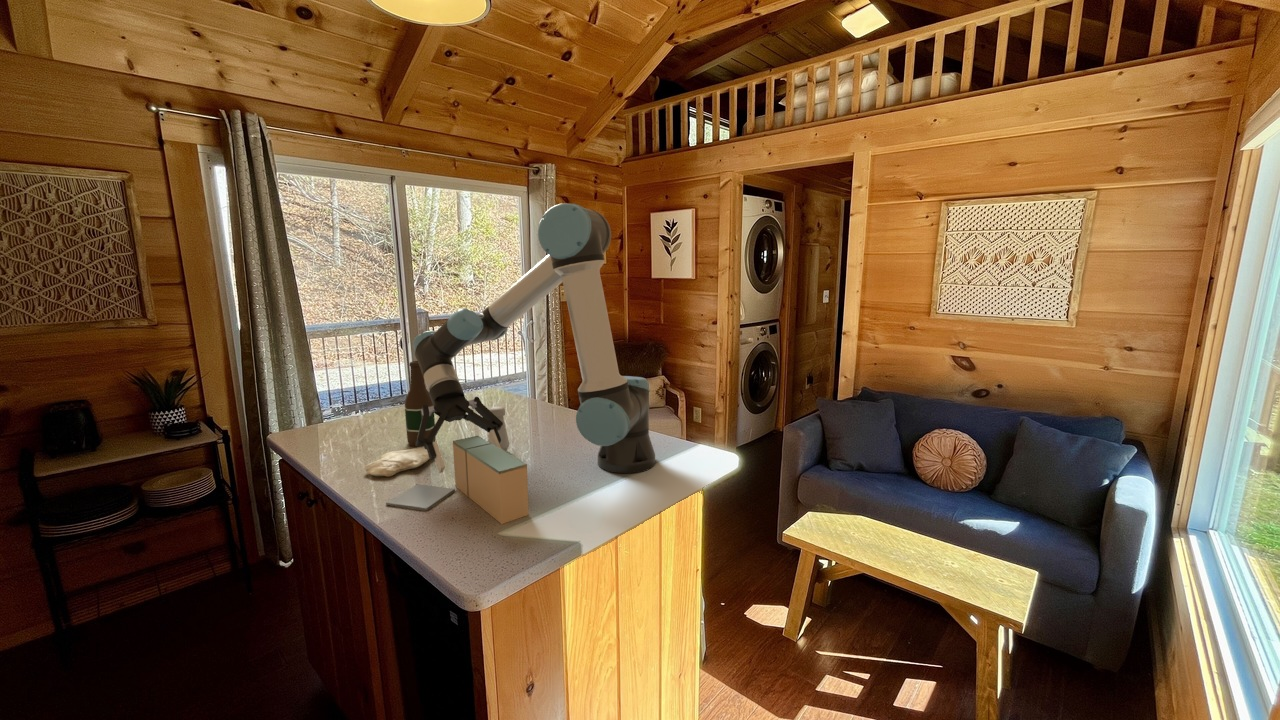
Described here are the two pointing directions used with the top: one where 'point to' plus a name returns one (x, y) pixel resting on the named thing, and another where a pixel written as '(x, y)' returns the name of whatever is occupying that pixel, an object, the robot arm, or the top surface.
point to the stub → (464, 459)
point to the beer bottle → (417, 405)
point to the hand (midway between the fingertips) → (472, 462)
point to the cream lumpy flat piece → (397, 461)
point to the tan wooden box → (497, 482)
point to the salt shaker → (499, 413)
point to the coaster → (420, 497)
